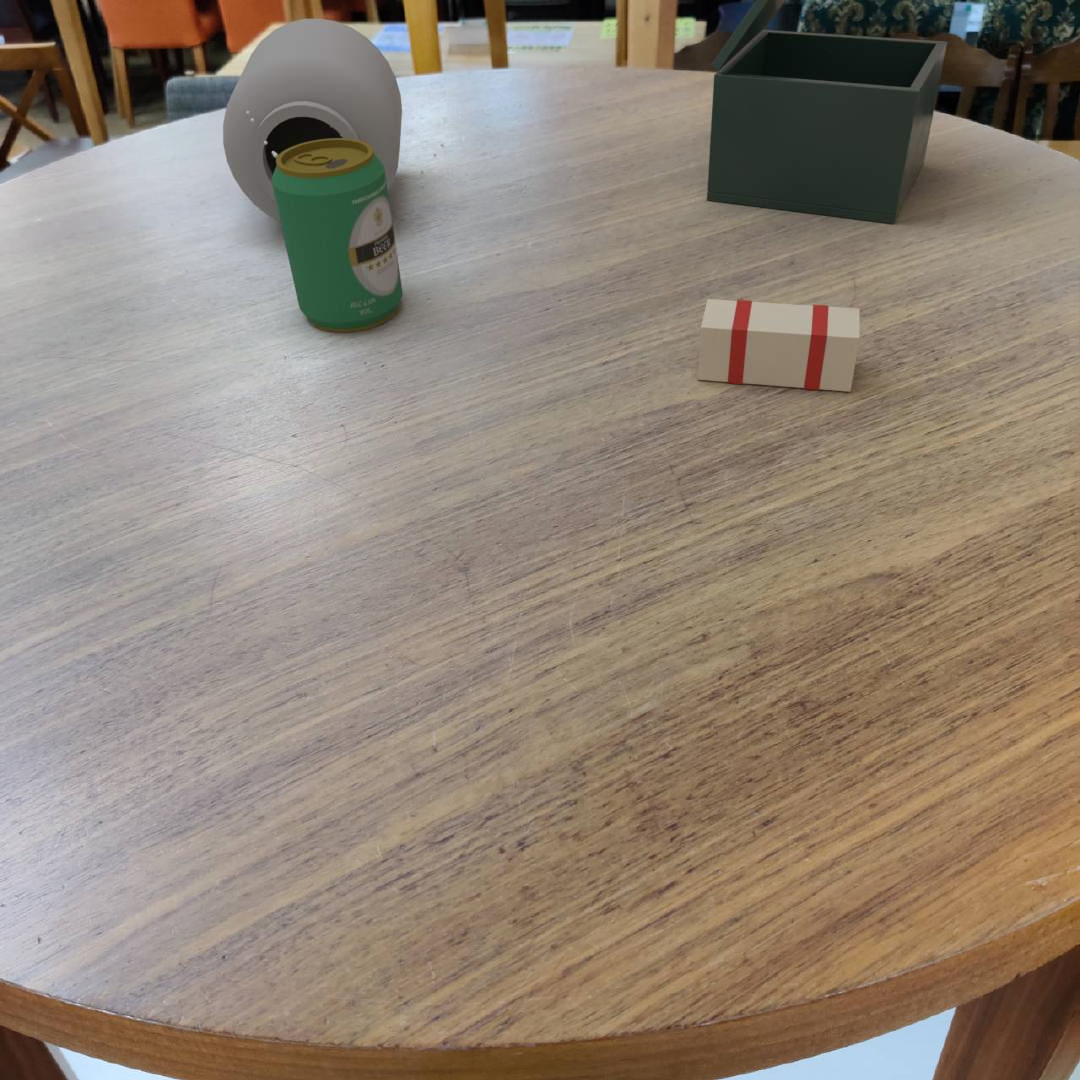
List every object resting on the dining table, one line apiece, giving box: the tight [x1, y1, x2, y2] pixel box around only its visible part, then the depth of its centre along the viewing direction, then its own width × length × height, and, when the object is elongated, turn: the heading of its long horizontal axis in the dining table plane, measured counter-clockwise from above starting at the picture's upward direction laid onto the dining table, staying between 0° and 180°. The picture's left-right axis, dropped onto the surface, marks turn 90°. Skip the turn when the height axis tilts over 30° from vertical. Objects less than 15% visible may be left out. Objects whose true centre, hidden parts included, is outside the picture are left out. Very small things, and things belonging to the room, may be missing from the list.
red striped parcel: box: [697, 298, 861, 393], centre depth 68 cm, size 10×4×4 cm, turn 77°
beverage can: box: [272, 138, 404, 333], centre depth 75 cm, size 8×8×12 cm
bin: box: [706, 29, 948, 225], centre depth 91 cm, size 17×15×11 cm
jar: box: [222, 17, 445, 222], centre depth 88 cm, size 19×15×25 cm
